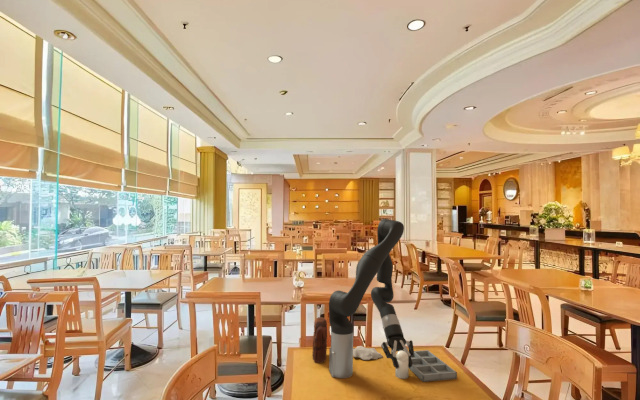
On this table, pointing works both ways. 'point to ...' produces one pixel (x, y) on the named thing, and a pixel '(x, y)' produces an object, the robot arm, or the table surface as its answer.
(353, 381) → the table surface
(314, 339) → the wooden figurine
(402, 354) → the cream rounded cylinder
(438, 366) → the grey compartment tray
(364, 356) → the decorative stone
